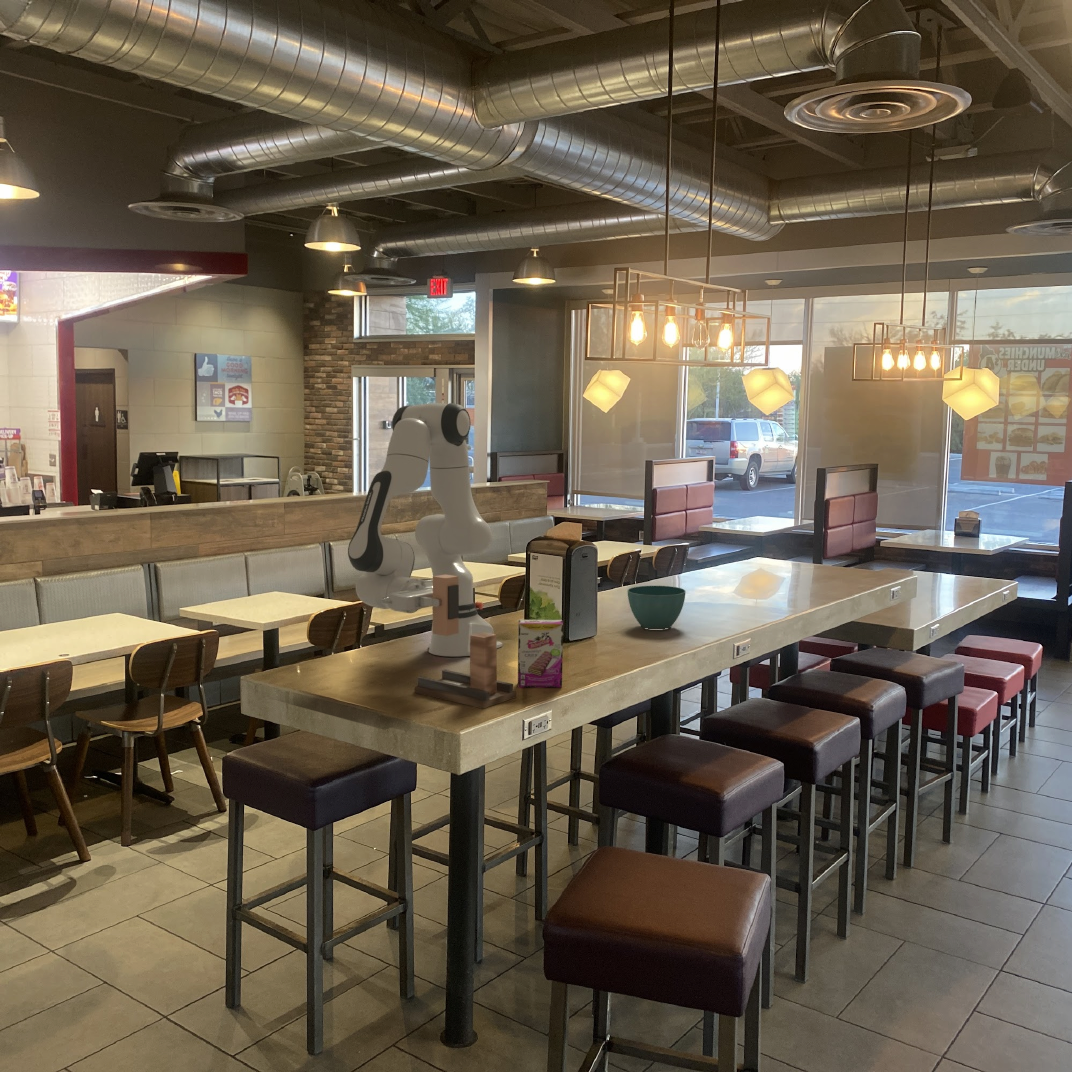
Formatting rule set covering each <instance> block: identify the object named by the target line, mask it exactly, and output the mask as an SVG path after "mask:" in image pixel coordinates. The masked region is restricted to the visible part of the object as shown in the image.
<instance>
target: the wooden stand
mask: <svg viewBox="0 0 1072 1072" xmlns="http://www.w3.org/2000/svg"><path fill="white" fill-rule="evenodd" d="M497 635H498V634H495V633H494V634H490V633H484V632H481V633H477V634H473V635H470V656H469V666H470V667H469V674H467V673H463V672H459V671H454V670H453V671H452V670H449V669H443V670H441V678H439V679H435V678H430V677H424V676H418V677H417V685H415V686H414V693H415V694H419V695H423V696H428V697H431V698H437V699H441V700H446V701H449V702H452V703H453V702H454V703H457V704H463V705H467V706H471V707H474V708H479V709H486V708H488V707H492V706H496V705H497V704H500V703H503V702H506V701H509V700H513V699H514V698H517V690H514V684H513V683H509V682H505V681H501V680H498V679H497V677H498V676H497V675H498V670H497V669H498V668H497V667H498V665H497V664H498V662H497V661H498V660H497V656H498V654H497V652H498V651H497V649H498V648H497V641H498V640H497V639H498V638H497V637H498V636H497Z"/></svg>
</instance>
